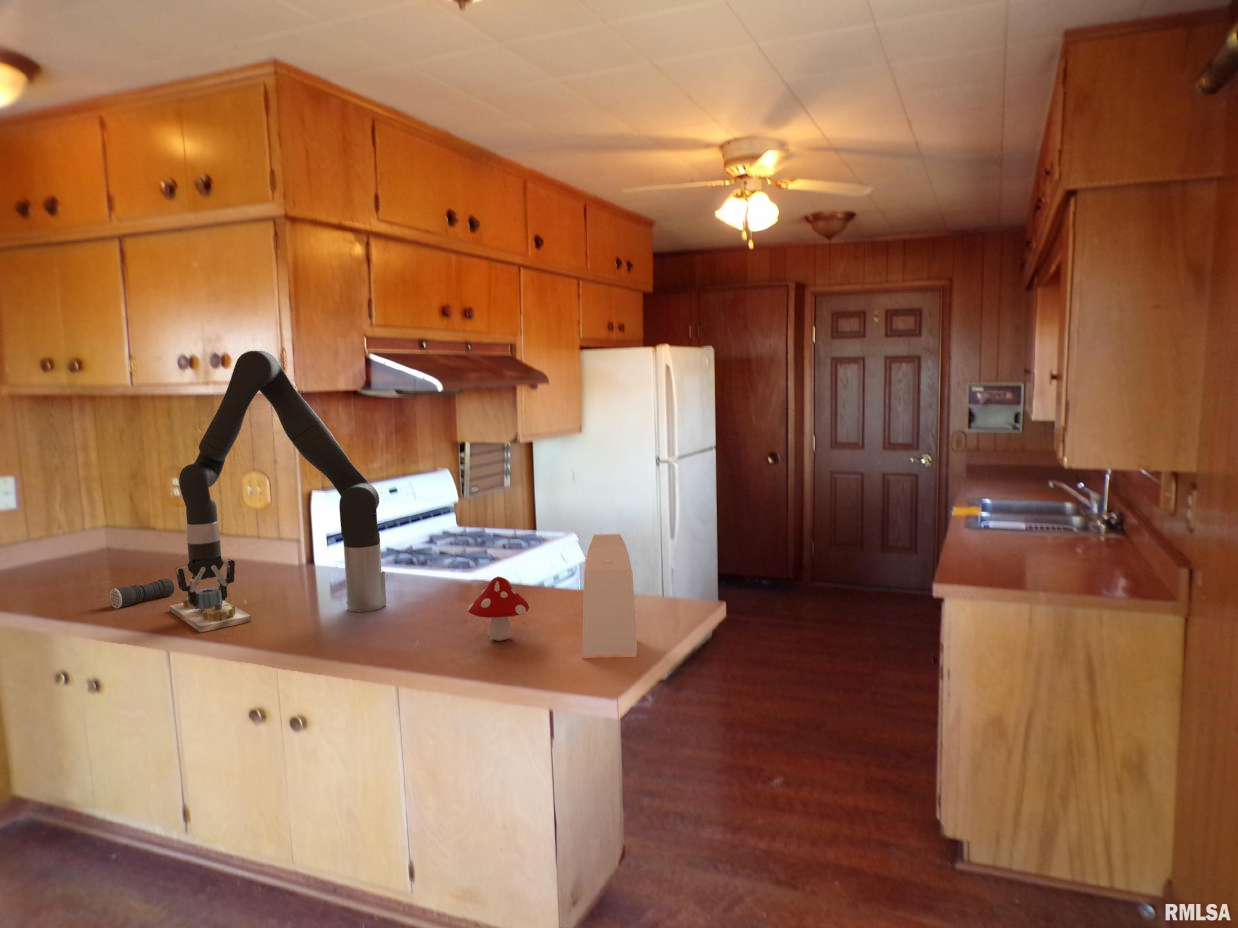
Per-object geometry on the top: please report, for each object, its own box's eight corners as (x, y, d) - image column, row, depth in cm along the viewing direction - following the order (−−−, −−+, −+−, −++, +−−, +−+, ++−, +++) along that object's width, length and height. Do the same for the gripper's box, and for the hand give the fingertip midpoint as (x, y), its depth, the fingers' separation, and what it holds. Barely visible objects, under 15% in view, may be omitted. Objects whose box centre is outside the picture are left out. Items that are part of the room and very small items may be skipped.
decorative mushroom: (543, 638, 191) (541, 575, 189) (497, 653, 180) (495, 587, 179) (504, 626, 200) (502, 566, 198) (458, 640, 190) (455, 577, 188)
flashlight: (166, 593, 237) (164, 575, 236) (176, 596, 234) (175, 577, 233) (110, 607, 224) (108, 587, 223) (121, 609, 221) (119, 590, 220)
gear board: (217, 601, 226) (216, 583, 226) (251, 621, 208) (249, 601, 207) (169, 610, 218) (168, 592, 218) (200, 632, 199) (198, 611, 199)
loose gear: (218, 600, 217) (216, 586, 217) (226, 605, 213) (225, 590, 212) (191, 606, 213) (189, 591, 212) (199, 611, 208) (197, 595, 208)
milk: (634, 639, 188) (632, 528, 185) (637, 657, 177) (635, 539, 174) (582, 641, 188) (579, 530, 185) (581, 658, 177) (579, 540, 174)
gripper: (177, 546, 203) (182, 611, 205) (237, 537, 213) (242, 599, 215) (168, 541, 208) (174, 605, 210) (228, 533, 218) (232, 594, 220)
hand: (208, 602), depth 213 cm, fingers closed on loose gear, 6 cm apart
